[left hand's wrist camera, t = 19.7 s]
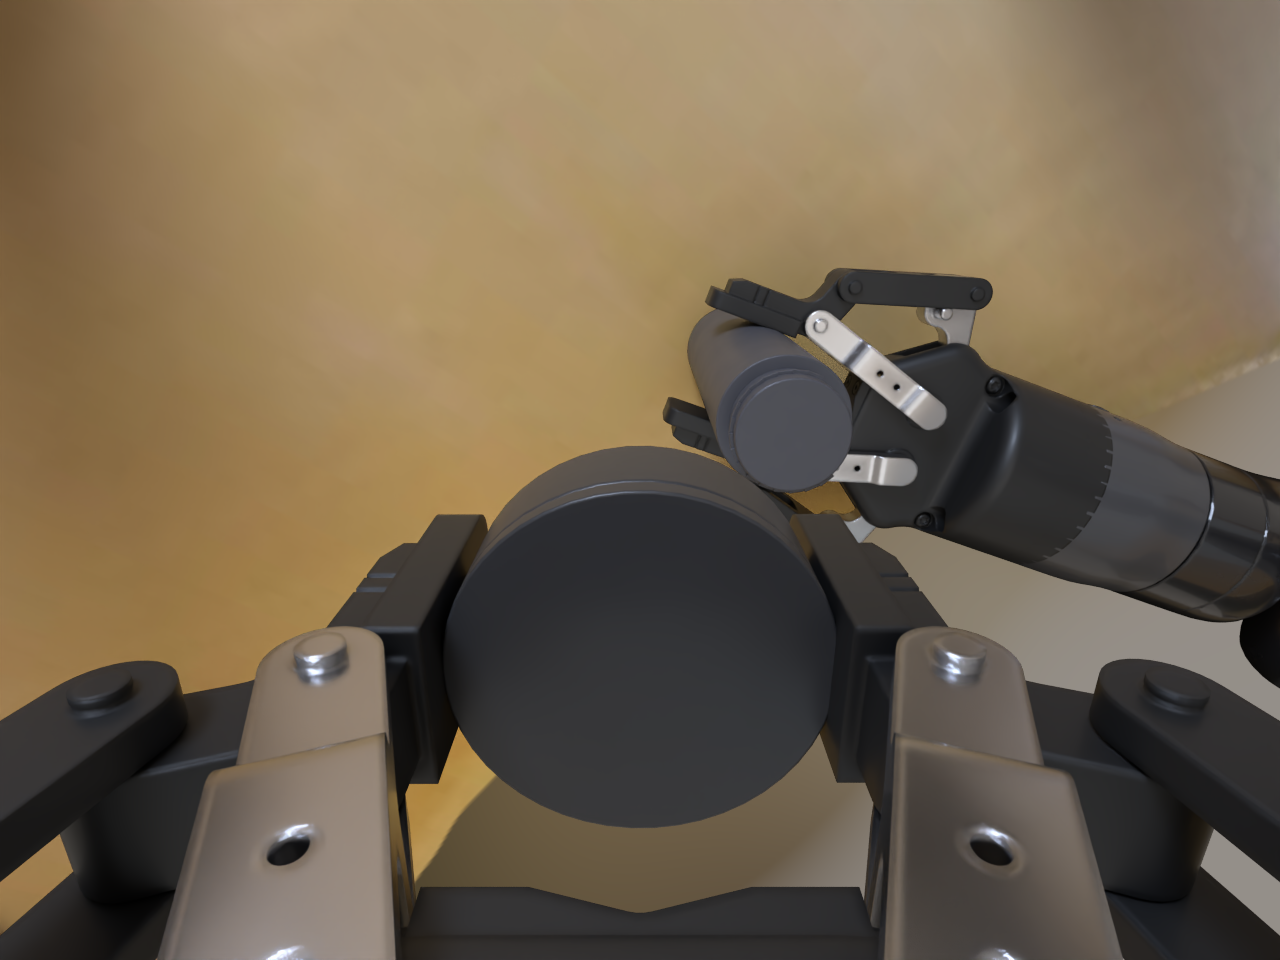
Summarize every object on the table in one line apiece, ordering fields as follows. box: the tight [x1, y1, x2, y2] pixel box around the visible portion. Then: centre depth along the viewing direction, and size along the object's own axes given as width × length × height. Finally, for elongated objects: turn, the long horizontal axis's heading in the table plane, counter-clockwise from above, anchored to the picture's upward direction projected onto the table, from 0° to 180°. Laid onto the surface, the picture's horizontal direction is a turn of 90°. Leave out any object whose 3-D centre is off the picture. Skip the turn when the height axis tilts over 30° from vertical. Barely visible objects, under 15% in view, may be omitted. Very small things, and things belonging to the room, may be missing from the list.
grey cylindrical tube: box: [687, 309, 853, 493], centre depth 29 cm, size 4×4×16 cm
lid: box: [442, 446, 837, 828], centre depth 10 cm, size 5×5×2 cm
